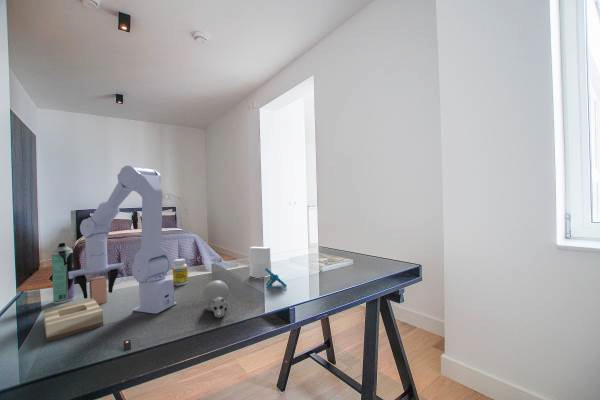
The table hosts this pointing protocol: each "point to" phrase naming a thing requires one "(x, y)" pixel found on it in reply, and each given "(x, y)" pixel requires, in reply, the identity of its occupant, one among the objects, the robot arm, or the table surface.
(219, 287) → the grey skull
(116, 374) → the table surface
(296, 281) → the table surface
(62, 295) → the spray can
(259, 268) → the white rectangular block
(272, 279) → the teal crossed bar figure
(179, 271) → the supplement bottle
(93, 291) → the peg
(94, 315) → the socket block
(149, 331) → the table surface
